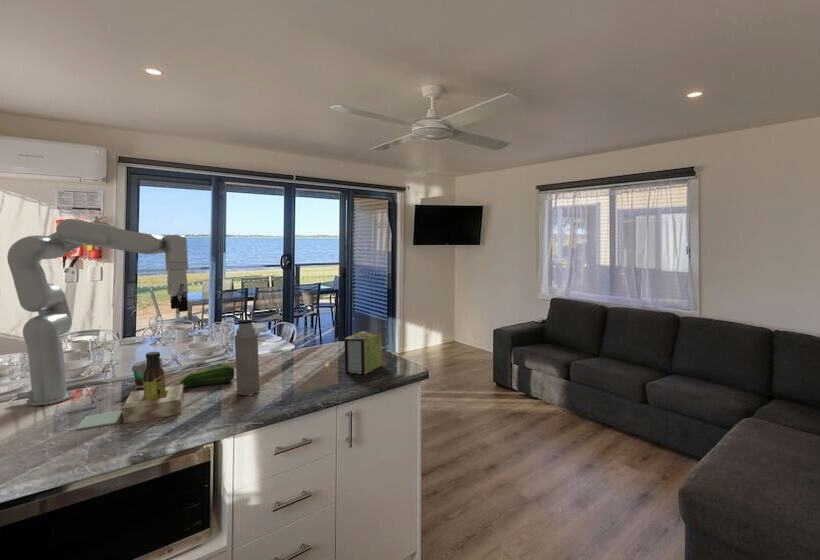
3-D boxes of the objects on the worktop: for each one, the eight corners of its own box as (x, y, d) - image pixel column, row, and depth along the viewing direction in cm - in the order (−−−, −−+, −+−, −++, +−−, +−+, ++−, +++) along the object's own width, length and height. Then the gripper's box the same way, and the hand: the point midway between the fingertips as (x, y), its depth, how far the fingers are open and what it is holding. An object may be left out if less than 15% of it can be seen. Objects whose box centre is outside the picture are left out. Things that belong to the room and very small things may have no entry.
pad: (76, 430, 124) (76, 428, 124) (85, 417, 133) (85, 416, 133) (116, 423, 128) (116, 422, 128) (122, 411, 137) (122, 410, 137)
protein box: (381, 365, 187) (381, 332, 186) (364, 375, 173) (364, 340, 172) (362, 363, 192) (361, 330, 190) (344, 372, 178) (343, 338, 176)
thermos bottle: (249, 387, 160) (246, 317, 158) (264, 390, 157) (261, 319, 154) (232, 394, 153) (229, 321, 150) (248, 397, 150) (244, 322, 147)
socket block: (123, 423, 128) (122, 408, 128) (132, 405, 143) (131, 391, 142) (180, 413, 135) (180, 399, 135) (183, 397, 150) (183, 384, 149)
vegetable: (233, 362, 165) (177, 368, 159) (233, 380, 163) (177, 387, 156) (235, 366, 171) (182, 371, 165) (235, 383, 169) (181, 389, 163)
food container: (146, 392, 156) (144, 366, 155) (133, 391, 157) (131, 365, 156) (171, 381, 168) (169, 357, 167) (158, 380, 169) (157, 357, 168)
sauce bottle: (161, 412, 136) (157, 355, 134) (141, 414, 135) (137, 356, 134) (169, 405, 143) (166, 350, 141) (150, 406, 142) (147, 351, 140)
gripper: (159, 266, 161) (162, 308, 163) (173, 267, 149) (175, 313, 151) (180, 265, 167) (182, 306, 168) (194, 267, 155) (197, 311, 156)
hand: (179, 309), depth 160 cm, fingers open, 9 cm apart
